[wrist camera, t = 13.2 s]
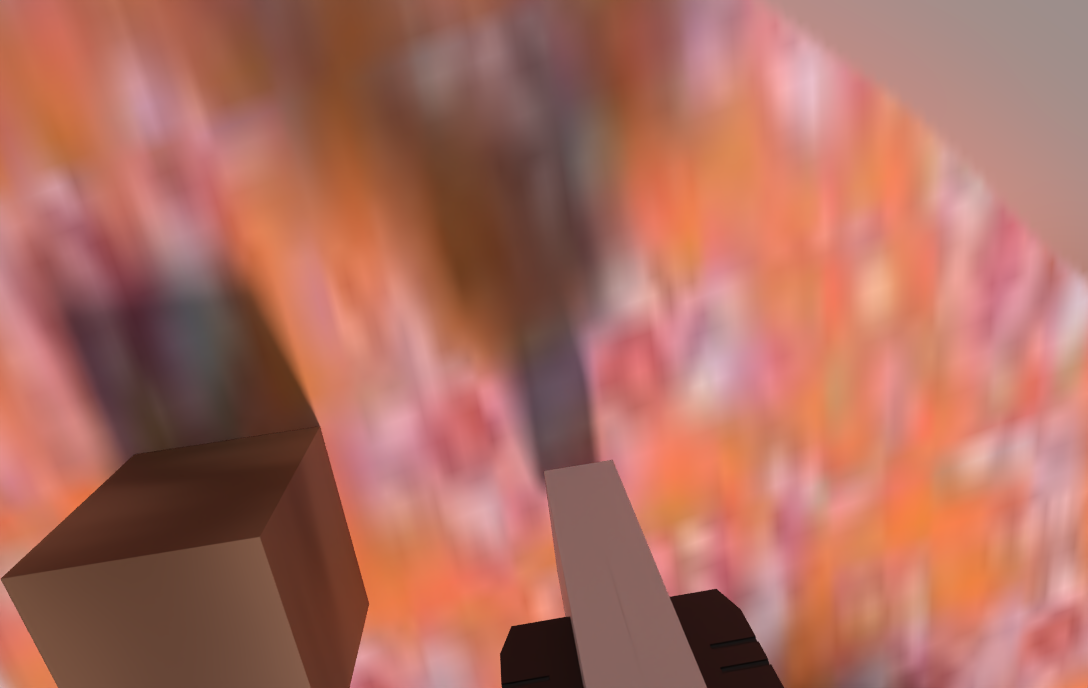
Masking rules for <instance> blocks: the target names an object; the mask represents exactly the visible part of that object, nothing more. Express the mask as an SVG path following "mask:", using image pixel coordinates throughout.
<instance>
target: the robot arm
mask: <svg viewBox="0 0 1088 688" xmlns="http://www.w3.org/2000/svg"><path fill="white" fill-rule="evenodd" d="M544 476H545V484H546V491H547V498H548V506H549V513H550V520H551V528H552V535H553V542H554V550H555V557H556V564H557V572H558V578H559V583H560V589H561V594H562V600H563V605H564V611H565V616H566V617H563V618H557V619H551V620H546V621H540V622H534V623H528V624H523V625H517V626H511V629H510V631H509V634H508V636H507V639H506V641H505V643H504V646H503V648H502V651H501V653H500V660H501V684H502V688H784V687H783V685H782V683H781V681H780V680H779V678H778V676H777V674H776V672H775V671H774V669H773V667H772V665H770V664H769V662H768V658H767V656H766V654H765V653H764V651H763V649H762V647H761V645H760V643H759V642H757V640H756V637H755V634H754V633H753V631H752V629H751V627H750V625H749V624H748V622H747V620H746V618H745V616H744V615H743V613H742V611H741V609H740V608H738V607H737V606H736V605H735V604H734V603H732V602H731V601H730V600H729V599H728V598H727V597H725V596H724V595H723V594H722V593H721V592H719V591H718V590H717V589H713V590H707V591H701V592H695V593H690V594H684V595H678V596H672V597H669V595H668V592H667V590H666V587H665V585H664V583H663V580H662V578H661V575H660V573H659V571H658V568H657V566H656V563H655V561H654V558H653V556H652V554H651V551H650V549H649V546H648V544H647V542H646V539H645V537H644V534H643V532H642V529H641V527H640V525H639V522H638V520H637V517H636V515H635V513H634V510H633V508H632V505H631V503H630V500H629V498H628V496H627V493H626V491H625V488H624V486H623V484H622V481H621V479H620V476H619V474H618V471H617V469H616V467H615V464H614V462H613V460H609V461H602V462H596V463H590V464H584V465H577V466H571V467H565V468H558V469H552V470H546V471H544Z"/></svg>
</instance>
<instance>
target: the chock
mask: <svg viewBox="0 0 1088 688" xmlns="http://www.w3.org/2000/svg"><path fill="white" fill-rule="evenodd" d="M1 581H2V583H3V584H4V586H5V588H6V590H7V592H8V594H9V596H10V598H11V600H12V601H13V603H14V605H15V607H16V609H17V611H18V613H19V615H20V616H21V618H22V620H23V622H24V624H25V626H26V628H27V630H28V632H29V633H30V635H31V637H32V639H33V641H34V643H35V645H36V647H37V648H38V650H39V652H40V654H41V656H42V658H43V660H44V662H45V664H46V665H47V667H48V669H49V671H50V673H51V675H52V677H53V679H54V680H55V682H56V684H57V686H58V688H350V683H351V679H352V675H353V671H354V666H355V662H356V658H357V653H358V649H359V645H360V641H361V636H362V632H363V628H364V623H365V619H366V615H367V611H368V606H369V602H368V598H367V595H366V591H365V587H364V584H363V580H362V576H361V573H360V569H359V566H358V562H357V558H356V555H355V551H354V547H353V544H352V540H351V537H350V533H349V529H348V526H347V522H346V519H345V515H344V511H343V508H342V504H341V500H340V497H339V493H338V490H337V486H336V482H335V479H334V475H333V471H332V468H331V464H330V461H329V457H328V453H327V450H326V446H325V442H324V439H323V435H322V432H321V428H320V426H318V427H312V428H305V429H299V430H292V431H286V432H279V433H272V434H266V435H259V436H253V437H246V438H240V439H233V440H226V441H220V442H213V443H207V444H200V445H194V446H187V447H180V448H174V449H167V450H161V451H154V452H147V453H141V454H135V455H133V456H132V457H131V458H130V459H129V460H128V461H127V462H126V463H125V464H124V465H123V466H122V467H121V468H119V469H118V470H117V471H116V472H115V473H114V474H113V475H112V476H111V477H110V478H109V479H108V480H107V481H105V482H104V483H103V484H102V485H101V486H100V487H99V488H98V489H97V490H96V491H95V492H94V493H93V494H91V495H90V496H89V497H88V498H87V499H86V500H85V501H84V502H83V503H82V504H81V505H80V506H79V507H77V508H76V509H75V510H74V511H73V512H72V513H71V514H70V515H69V516H68V517H67V518H66V519H65V520H63V521H62V522H61V523H60V524H59V525H58V526H57V527H56V528H55V529H54V530H53V531H52V532H51V533H49V534H48V535H47V536H46V537H45V538H44V539H43V540H42V541H41V542H40V543H39V544H38V545H37V546H35V547H34V548H33V549H32V550H31V551H30V552H29V553H28V554H27V555H26V556H25V557H24V558H23V559H21V560H20V561H19V562H18V563H17V564H16V565H15V566H14V567H13V568H12V569H11V570H10V571H9V572H7V573H6V574H5V575H4V576H3V577H2V578H1Z"/></svg>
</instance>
